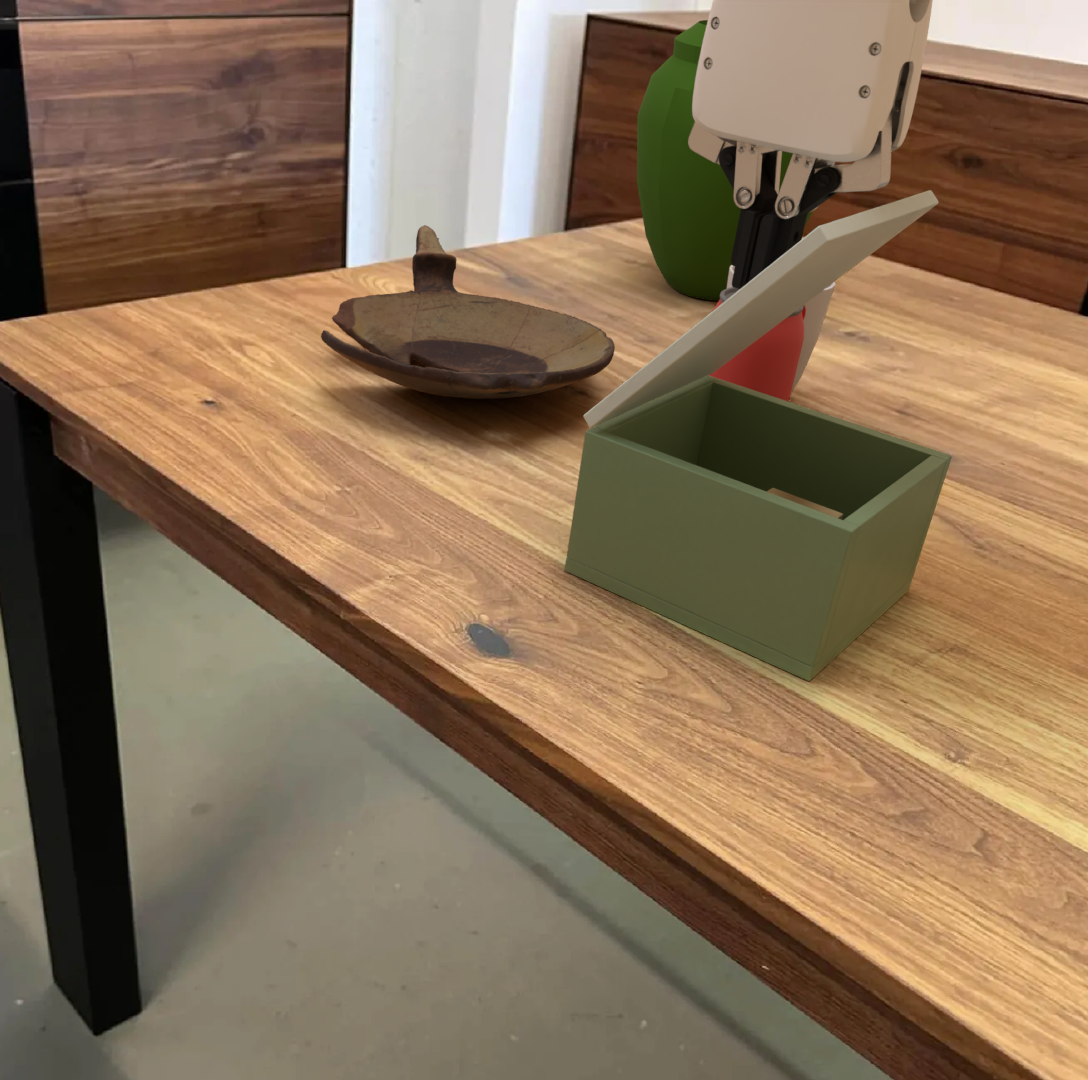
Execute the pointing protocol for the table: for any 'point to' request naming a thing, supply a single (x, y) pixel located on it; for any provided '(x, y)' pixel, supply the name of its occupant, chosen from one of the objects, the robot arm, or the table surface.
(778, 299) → the grey box lid
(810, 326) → the cup
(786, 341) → the beer can
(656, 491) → the open green box
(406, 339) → the oil lamp
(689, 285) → the vase
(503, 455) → the table surface
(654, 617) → the table surface
